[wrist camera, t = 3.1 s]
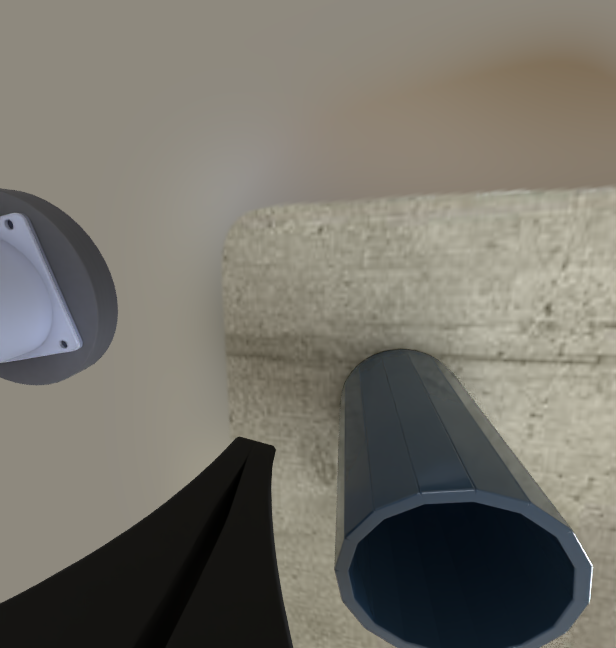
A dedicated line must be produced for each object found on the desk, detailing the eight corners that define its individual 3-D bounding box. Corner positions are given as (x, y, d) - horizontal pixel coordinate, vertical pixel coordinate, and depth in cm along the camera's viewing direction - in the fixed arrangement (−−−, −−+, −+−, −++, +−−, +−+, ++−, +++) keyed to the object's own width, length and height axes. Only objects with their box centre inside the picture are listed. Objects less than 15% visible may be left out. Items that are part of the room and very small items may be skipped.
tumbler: (350, 454, 18) (355, 658, 9) (331, 357, 16) (316, 498, 8) (463, 445, 17) (586, 667, 8) (456, 340, 15) (600, 482, 7)
